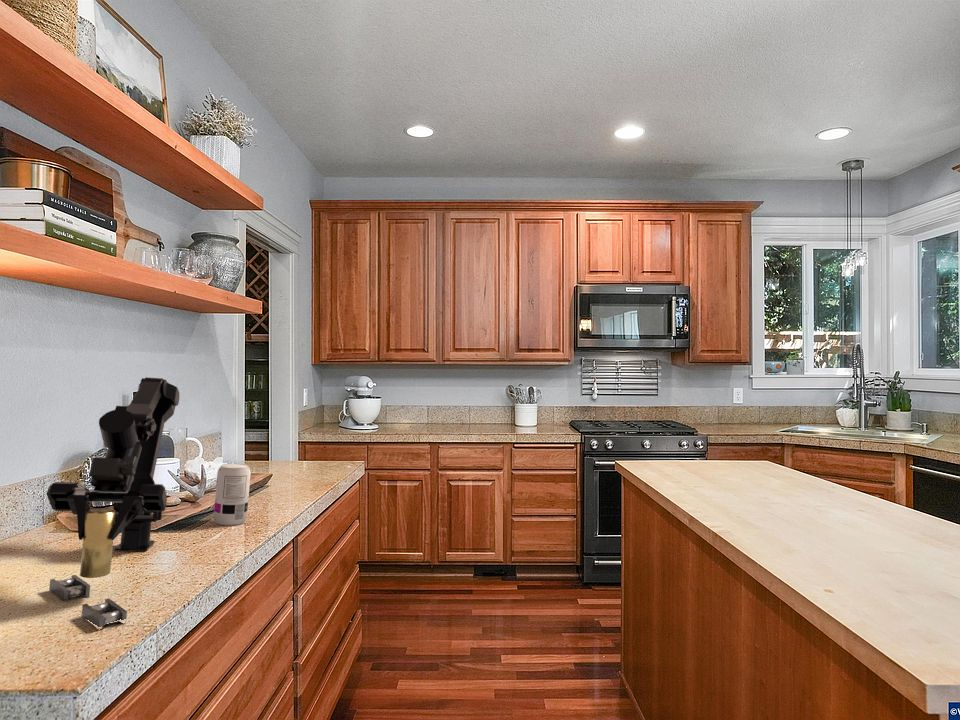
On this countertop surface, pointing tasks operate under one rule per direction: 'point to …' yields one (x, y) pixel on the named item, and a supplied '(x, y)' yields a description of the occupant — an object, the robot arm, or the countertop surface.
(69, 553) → the countertop surface
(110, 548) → the link pin
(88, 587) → the chain end
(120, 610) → the chain end
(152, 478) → the robot arm
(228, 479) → the supplement can
